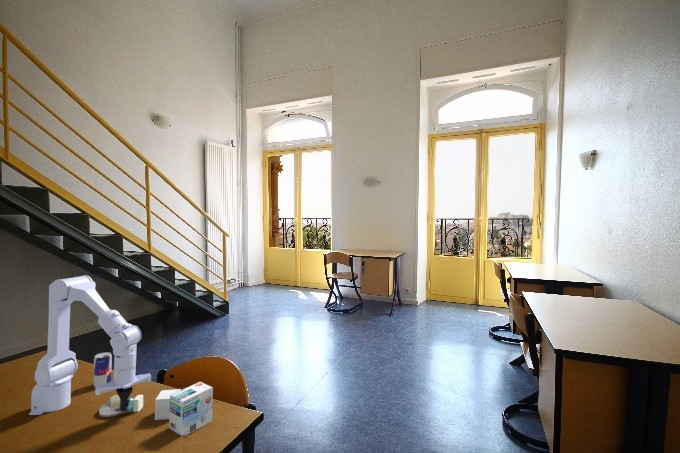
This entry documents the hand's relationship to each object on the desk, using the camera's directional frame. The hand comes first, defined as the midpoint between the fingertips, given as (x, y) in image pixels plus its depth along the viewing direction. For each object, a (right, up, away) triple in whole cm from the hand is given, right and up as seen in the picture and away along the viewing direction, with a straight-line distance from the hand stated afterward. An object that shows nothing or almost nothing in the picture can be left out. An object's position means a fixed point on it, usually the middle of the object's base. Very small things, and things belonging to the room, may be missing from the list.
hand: (123, 410), depth 104 cm
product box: (+13, -4, +2) cm, 13 cm away
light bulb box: (+22, -4, -2) cm, 23 cm away
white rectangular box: (+2, -2, +4) cm, 5 cm away
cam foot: (-4, -2, +3) cm, 5 cm away
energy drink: (-21, -3, +20) cm, 29 cm away
